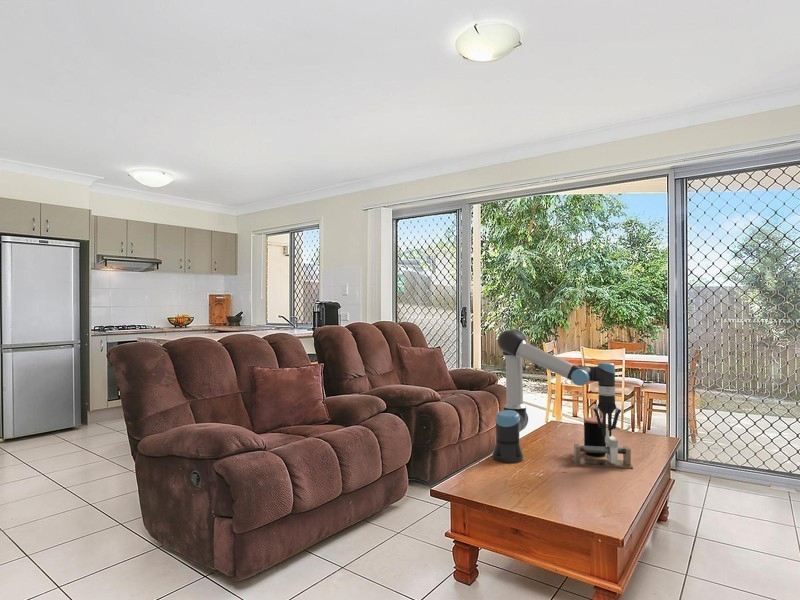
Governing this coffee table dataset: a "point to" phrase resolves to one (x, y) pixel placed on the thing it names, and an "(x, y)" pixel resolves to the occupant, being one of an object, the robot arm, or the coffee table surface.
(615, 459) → the collar
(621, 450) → the rail
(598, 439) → the coffee jar
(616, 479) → the coffee table surface
